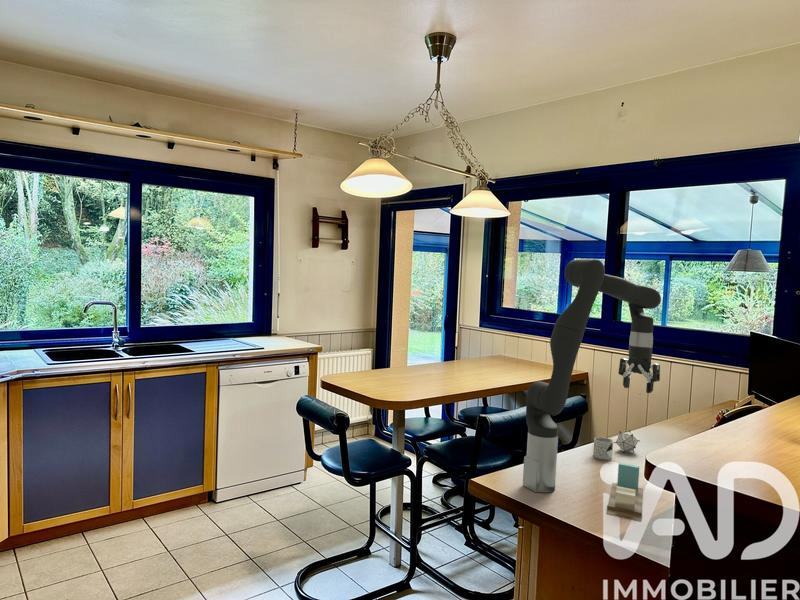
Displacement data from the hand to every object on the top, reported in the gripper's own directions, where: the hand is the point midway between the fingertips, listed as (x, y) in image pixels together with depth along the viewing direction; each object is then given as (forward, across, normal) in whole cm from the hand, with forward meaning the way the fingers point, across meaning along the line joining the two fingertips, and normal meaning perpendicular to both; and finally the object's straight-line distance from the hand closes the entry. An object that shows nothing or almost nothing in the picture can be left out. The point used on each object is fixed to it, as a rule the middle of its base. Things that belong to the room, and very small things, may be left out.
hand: (637, 390), depth 184 cm
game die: (+28, -13, +16) cm, 35 cm away
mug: (+29, -14, +3) cm, 32 cm away
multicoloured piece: (+29, +17, -30) cm, 45 cm away
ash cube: (+27, +20, -35) cm, 49 cm away
